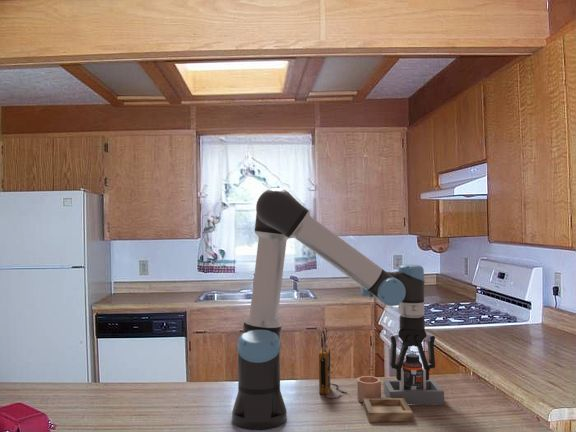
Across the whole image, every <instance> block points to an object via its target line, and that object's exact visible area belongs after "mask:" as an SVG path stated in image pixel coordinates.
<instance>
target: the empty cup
mask: <svg viewBox="0 0 576 432" xmlns="http://www.w3.org/2000/svg"><path fill="white" fill-rule="evenodd" d="M356 396H357V399H356V400H359V401H358V402H360V401H361V402H360V403H363V398H382V381H381V379H380V377H376V376H373V375H362V376H359V377H356Z"/></svg>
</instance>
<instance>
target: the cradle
mask: <svg viewBox="0 0 576 432" xmlns="http://www.w3.org/2000/svg"><path fill="white" fill-rule="evenodd" d="M382 384H383V394H384V396H385V398H404V399H405V400H406V402H407V404H439V405H438V406H444V405H445V391H444V390H443V388H442V387H441V386H440V385H439V384H438V383H437V382H436V380H435V379H429V380H426V390H400V381H398V380H397V379H383V383H382Z"/></svg>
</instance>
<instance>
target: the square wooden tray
mask: <svg viewBox="0 0 576 432" xmlns="http://www.w3.org/2000/svg"><path fill="white" fill-rule="evenodd" d="M362 406H364V407H363V410H364V409H365V410H364V413H365V412H366V413H365V416H366V417H367V421H368V422H369V423H373V422H374V423H383V422H382V421H413V422H414V413H413V412H414V411H412V409H411V407H410V405H408V404H407V402H406V400H405V399H404V398H386V397H381V398H363V402H362ZM380 421H381V422H380Z"/></svg>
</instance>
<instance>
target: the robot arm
mask: <svg viewBox="0 0 576 432" xmlns="http://www.w3.org/2000/svg"><path fill="white" fill-rule="evenodd" d="M255 205H256V207H255V209H256V210H255V211H256V213H255V214H256V215H255V222H254V230H253V231H254V234H256V236H257V237H258V238H257V239H258V240H257V249H256V258H255V266H254V276H253V284H252V294H251V301H250V310H249V315H248V316H247V317H245V319H243V327H242V334H240V336H239V337H238V339H237V345H236V346H237V347H236V349H237V350H236V351H237V369H238V370H237V373H238V375H237V376H238V377H237V379H238V380H237V382H238V383H237V385H238V386H237V387H238V389H237V390H238V391H237V394H236V398H235V402H234V404H233V407H232V411H231V412H232V413H231V420H232V423H233V424H234V425H235V426H237V427H239V428H242V429H247V430H269V429H273V428H276V427H278V426H281V425H283V424H284V423H286V421H287V417H288V416H287V414H288V412H287V407H286V404H285V402H284V398H283V395H282V392H281V354H280V353H281V335H282V326H283V325H282V322H281V321H280V320H279V318H278V316H279V309H280V308H279V307H280V301H281V292H282V283H283V275H284V266H285V265H284V264H285V257H286V247H287V242H288V240H289V239H296V240H297V241H298V242H299V243H301V244H303V246H305V247H306V248H308V249H309V250H311V251H312V252H314V253H315V254H316V255H317V256H319V257H320V258H321V259H324V261H326V262H327V263H328V264H330V265H331V266H333V267H334V268H335V269H337V270H338V271H340V272H341V273H342V274H344V275H345V276H347V277H348V278H349V279H350V280H352V281H353V282H354V283H356V284H357V285H359V290H360V294H361V295H362V297H364V298H365V297H367V298H368V297H369V298H376V299H377V300H379V301H380V302H381V303H383V304H384V305H386V306H397V305H399V312H398V313H399V314H400V316H399V330H398V332H397V333H395V334H392V333H391V334H389V339H390V357H389V358H390V359H389V366H390V367H391V368H392V369H394V370H395V377H396V380H398V381H400V390H404V371H403V362H404V361H405V359H406V354H407V351H408V349H409V348H410V347H416V348H417V351H418V355H419V358H420V360H421V363H422V386H423V387H422V390H426V380H430V370H431V369H435V368H436V359H435V357H436V356H435V347H434V346H435V345H434V343H435V340H436V337H435V336H434V334H431V333H430V334H429V333H426V329H425V327H426V326H425V323H426V321H425V319H426V318H425V316H424V315H425V281H426V280H425V271H424V270H425V269H424V267H423V266H422V265H420V264H401V265H399V266H398V270H397V271H386V270H385V269H383V268H382V267H380V265H378V264H377V263H375V262H374V261H372V260H371V259H370V258H368V257H367V256H366V255H364V254H363V253H361V252H360V251H359V250H357V249H356V248H355V247H354V246H352V245H350V243H348V242H347V241H345V240H344V239H343V238H341V237H339V236H338V235H337V234H336V233H334V232H333V231H332V230H330V229H328V227H326V226H324V224H322V223H321V222H319V220H316V219H315V218H314V217H313V216H311V211H310V210H309V209H307V208H306V207H305V206H304V205H302V204H301V203H300V202H299V201H298V200H297V199H296V198H295V197H294V196H293V195H292V194H291V193H290V192H289V191H287V190H286V189H284V188H280V187H279V188H278V187H273V188H269V189H267V190H265V191H264V192H263V193H261V194H260V196H259V197H258V199H257V202H256V204H255ZM399 339H400V340H401V341H402V343H401V347H400V348H401V349H400V351H399V354H398V358H397V346H398V345H397V342H398V341H399ZM425 339H426V341H427V352H428V353H427V354H428V358H427V356H426V354H425V351H424V347H423V344H422V343H423V341H424V340H425ZM427 359H428V360H427Z"/></svg>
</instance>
